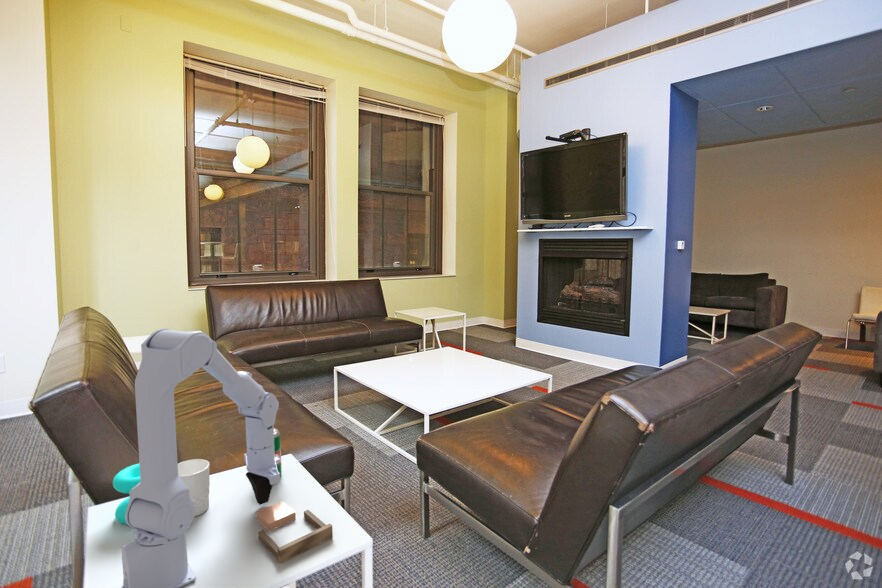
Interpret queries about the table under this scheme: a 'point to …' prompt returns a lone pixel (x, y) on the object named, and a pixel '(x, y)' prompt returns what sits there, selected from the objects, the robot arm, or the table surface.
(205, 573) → the table surface
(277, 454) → the soda can
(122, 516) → the donuts
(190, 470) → the white cup
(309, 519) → the wooden u-shaped frame
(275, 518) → the peach block
